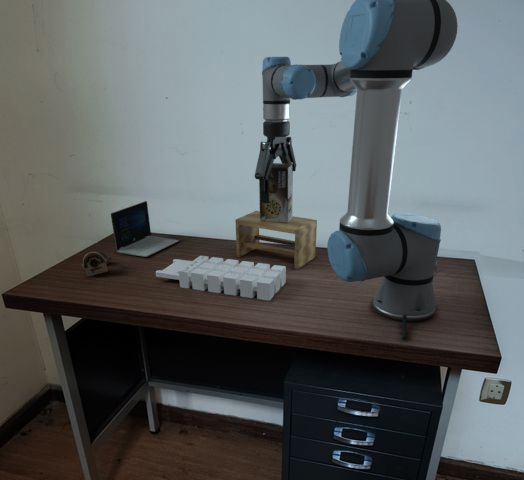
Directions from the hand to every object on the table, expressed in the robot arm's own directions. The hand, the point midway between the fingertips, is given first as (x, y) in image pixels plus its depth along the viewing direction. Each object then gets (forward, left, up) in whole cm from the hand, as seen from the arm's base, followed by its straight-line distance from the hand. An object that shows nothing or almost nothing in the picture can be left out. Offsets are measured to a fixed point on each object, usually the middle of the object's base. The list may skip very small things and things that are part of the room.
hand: (276, 198), depth 150 cm
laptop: (-13, +42, -19) cm, 48 cm away
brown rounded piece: (-36, +40, -19) cm, 57 cm away
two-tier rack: (0, 0, -19) cm, 19 cm away
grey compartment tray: (-26, +3, -19) cm, 32 cm away
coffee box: (0, 0, -7) cm, 7 cm away
